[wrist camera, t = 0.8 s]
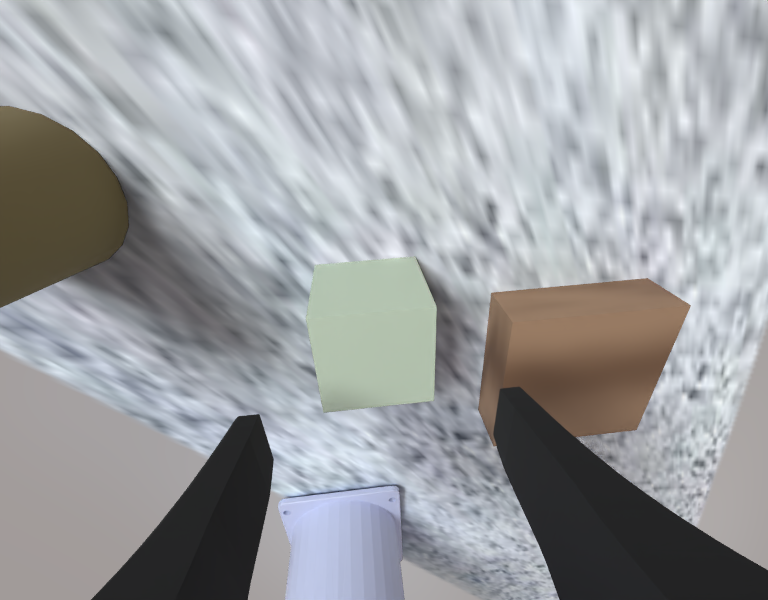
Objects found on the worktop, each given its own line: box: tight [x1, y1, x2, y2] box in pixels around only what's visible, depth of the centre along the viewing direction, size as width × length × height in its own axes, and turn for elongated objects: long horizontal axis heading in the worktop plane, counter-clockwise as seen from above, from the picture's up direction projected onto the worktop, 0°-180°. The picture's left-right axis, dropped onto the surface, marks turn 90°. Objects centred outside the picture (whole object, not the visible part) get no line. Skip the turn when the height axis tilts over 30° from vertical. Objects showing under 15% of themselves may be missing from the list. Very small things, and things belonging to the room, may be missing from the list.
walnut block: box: [478, 278, 691, 446], centre depth 19 cm, size 8×8×3 cm
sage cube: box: [306, 257, 437, 413], centre depth 16 cm, size 4×4×4 cm
